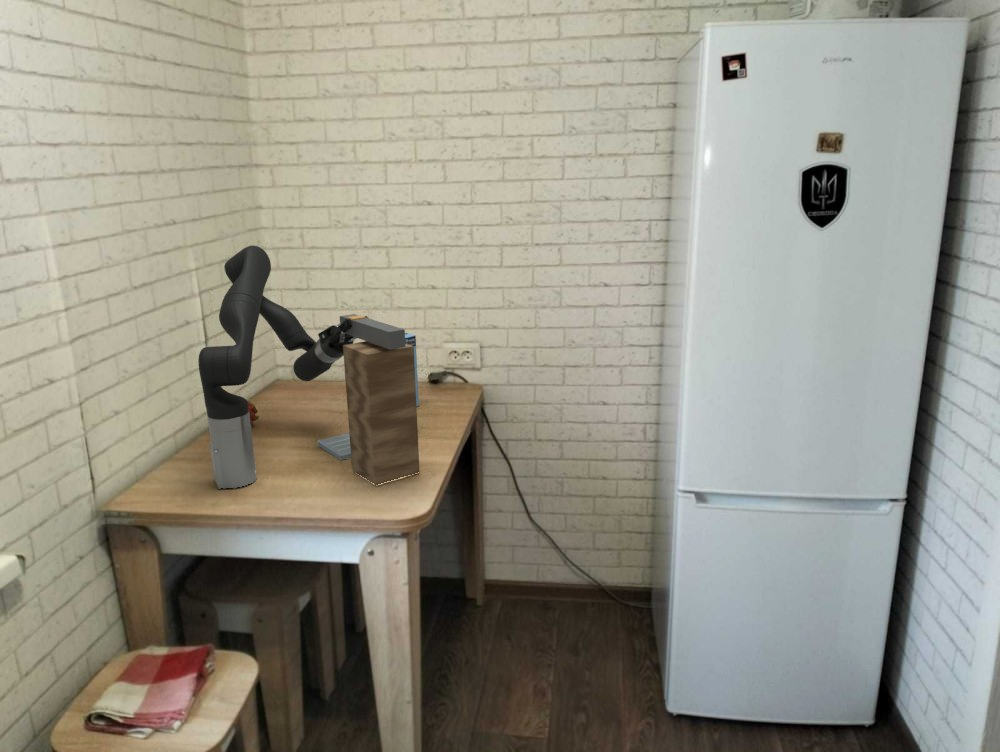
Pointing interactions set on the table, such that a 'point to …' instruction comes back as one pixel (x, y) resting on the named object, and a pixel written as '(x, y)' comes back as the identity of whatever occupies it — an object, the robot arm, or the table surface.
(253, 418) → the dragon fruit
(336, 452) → the board
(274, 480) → the table surface
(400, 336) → the bar
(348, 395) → the walnut stand
